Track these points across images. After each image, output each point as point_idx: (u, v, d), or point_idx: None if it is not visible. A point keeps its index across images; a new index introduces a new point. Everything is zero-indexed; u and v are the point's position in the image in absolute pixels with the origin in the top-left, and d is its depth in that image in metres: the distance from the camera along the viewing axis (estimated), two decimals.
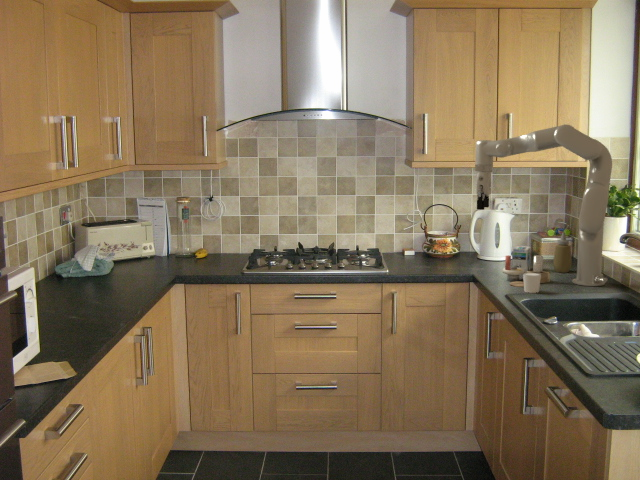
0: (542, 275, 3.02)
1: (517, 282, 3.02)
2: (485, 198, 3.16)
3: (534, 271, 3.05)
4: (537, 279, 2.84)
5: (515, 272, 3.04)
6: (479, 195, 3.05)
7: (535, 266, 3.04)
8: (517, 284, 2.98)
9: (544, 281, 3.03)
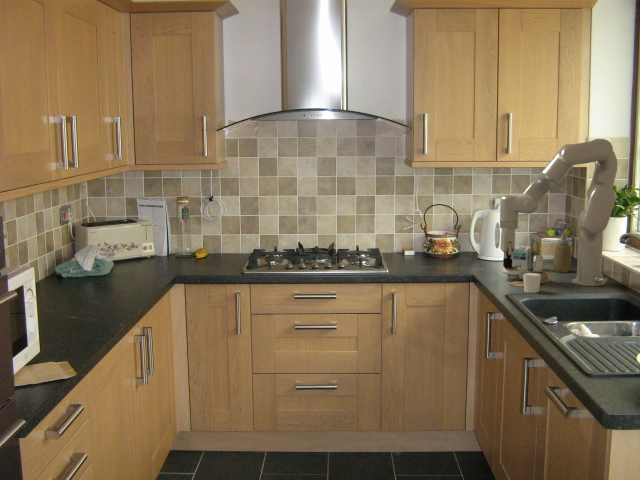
0: (542, 275, 3.02)
1: (517, 282, 3.02)
2: None
3: (534, 271, 3.05)
4: (537, 279, 2.84)
5: (515, 272, 3.04)
6: None
7: (535, 266, 3.04)
8: (517, 284, 2.98)
9: (544, 281, 3.03)
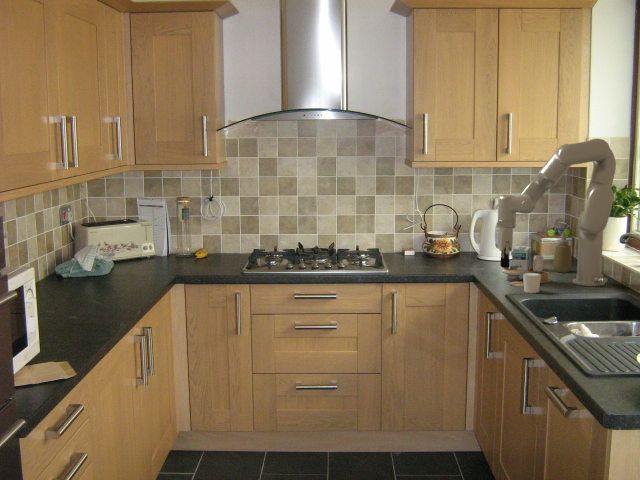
0: (542, 275, 3.02)
1: (517, 282, 3.02)
2: None
3: (534, 271, 3.05)
4: (537, 279, 2.84)
5: (510, 272, 3.05)
6: None
7: (535, 266, 3.04)
8: (517, 284, 2.98)
9: (544, 281, 3.03)
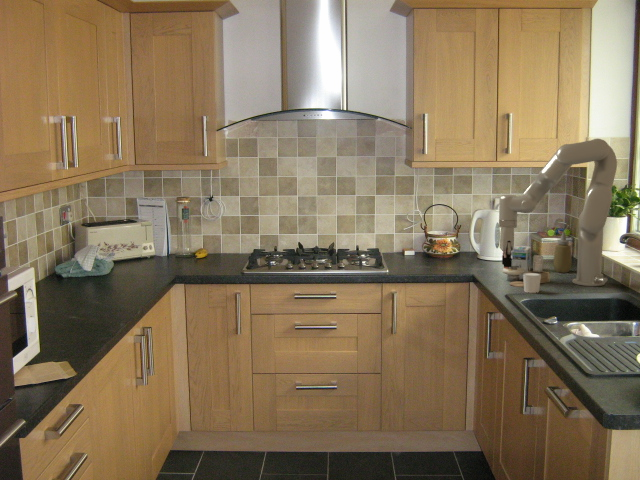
0: (542, 275, 3.02)
1: (517, 282, 3.02)
2: None
3: (534, 271, 3.05)
4: (537, 279, 2.84)
5: (504, 271, 3.07)
6: None
7: (535, 266, 3.04)
8: (517, 284, 2.98)
9: (544, 281, 3.03)
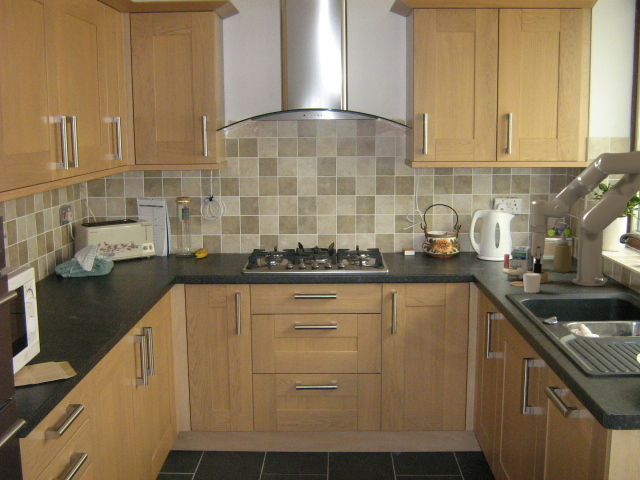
0: (542, 275, 3.02)
1: (517, 282, 3.02)
2: None
3: None
4: (537, 279, 2.84)
5: (504, 271, 3.07)
6: None
7: None
8: (517, 284, 2.98)
9: (544, 281, 3.03)
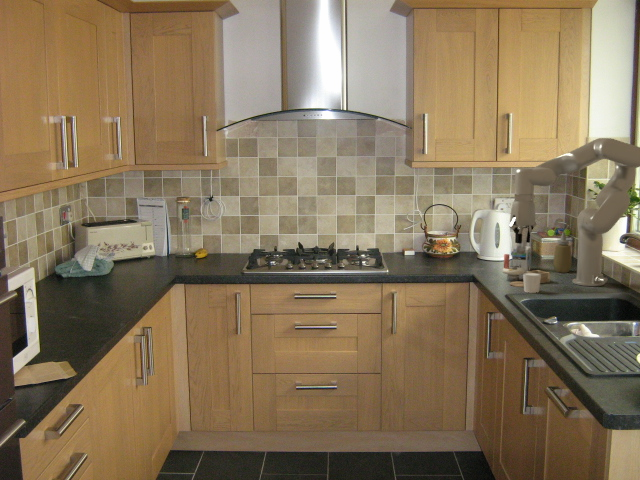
0: (542, 275, 3.02)
1: (517, 282, 3.02)
2: None
3: None
4: (537, 279, 2.84)
5: (504, 271, 3.07)
6: None
7: None
8: (517, 284, 2.98)
9: (544, 281, 3.03)
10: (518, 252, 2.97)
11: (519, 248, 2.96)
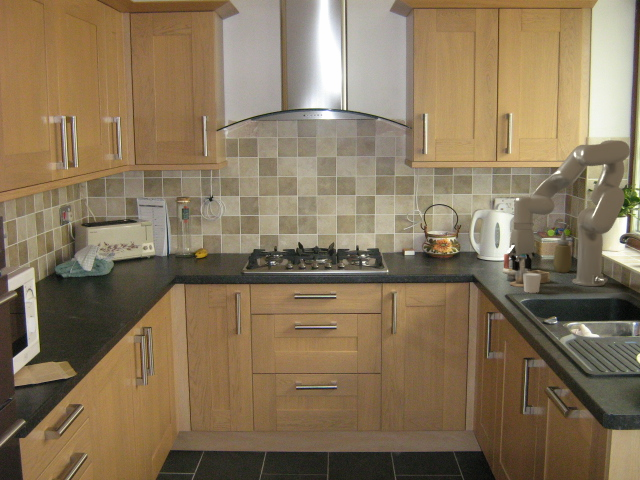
0: (542, 275, 3.02)
1: None
2: None
3: None
4: (537, 279, 2.84)
5: (504, 271, 3.07)
6: None
7: None
8: (517, 284, 2.98)
9: (544, 281, 3.03)
10: (517, 282, 2.99)
11: (518, 278, 2.98)
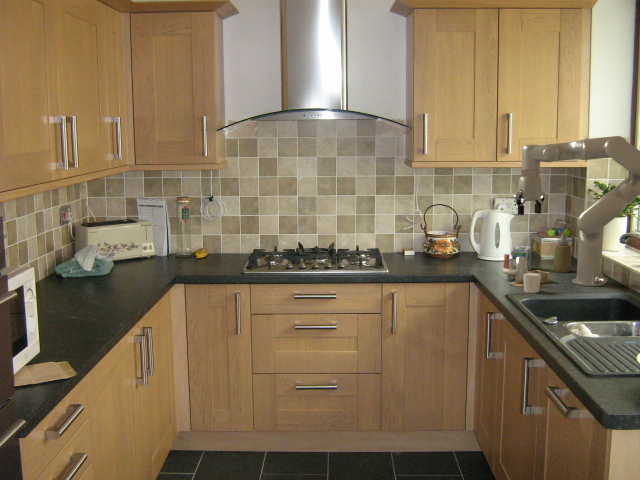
0: (542, 275, 3.02)
1: None
2: None
3: None
4: (537, 279, 2.84)
5: (504, 271, 3.07)
6: None
7: None
8: (517, 284, 2.98)
9: (544, 281, 3.03)
10: (517, 282, 2.99)
11: (518, 278, 2.98)
